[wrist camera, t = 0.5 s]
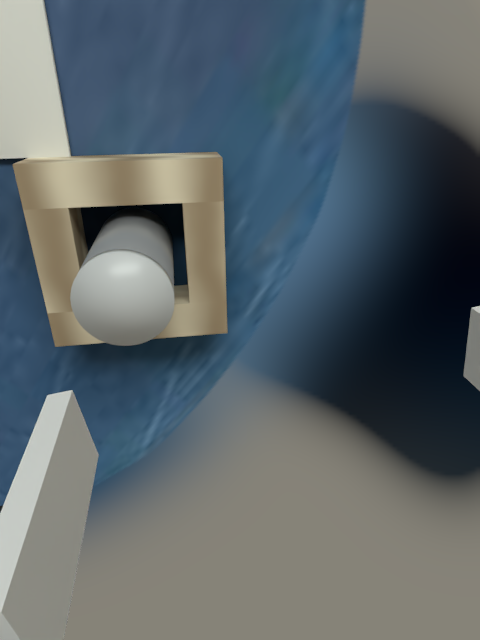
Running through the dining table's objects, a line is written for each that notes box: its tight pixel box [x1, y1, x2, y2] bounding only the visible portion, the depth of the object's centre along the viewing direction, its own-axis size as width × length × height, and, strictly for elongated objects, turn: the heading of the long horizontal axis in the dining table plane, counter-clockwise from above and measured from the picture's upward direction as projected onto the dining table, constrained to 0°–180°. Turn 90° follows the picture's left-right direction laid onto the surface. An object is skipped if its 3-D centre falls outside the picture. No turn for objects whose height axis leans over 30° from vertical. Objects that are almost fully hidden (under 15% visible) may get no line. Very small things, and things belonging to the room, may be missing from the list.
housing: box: [13, 152, 227, 347], centre depth 35 cm, size 14×14×4 cm
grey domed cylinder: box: [70, 207, 175, 346], centre depth 31 cm, size 6×6×12 cm
